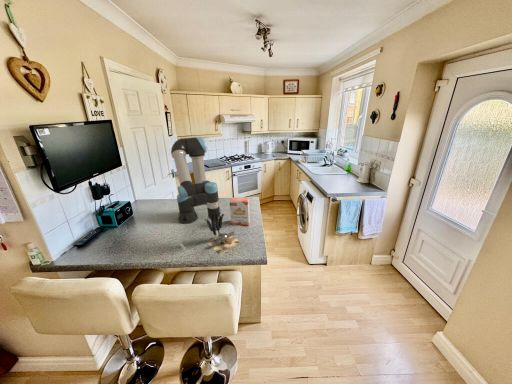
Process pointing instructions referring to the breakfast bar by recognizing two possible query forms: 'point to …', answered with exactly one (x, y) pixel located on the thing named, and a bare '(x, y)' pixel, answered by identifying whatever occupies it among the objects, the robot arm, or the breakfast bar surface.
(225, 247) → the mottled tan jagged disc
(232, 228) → the breakfast bar surface
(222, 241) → the capstan
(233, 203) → the cracker box
